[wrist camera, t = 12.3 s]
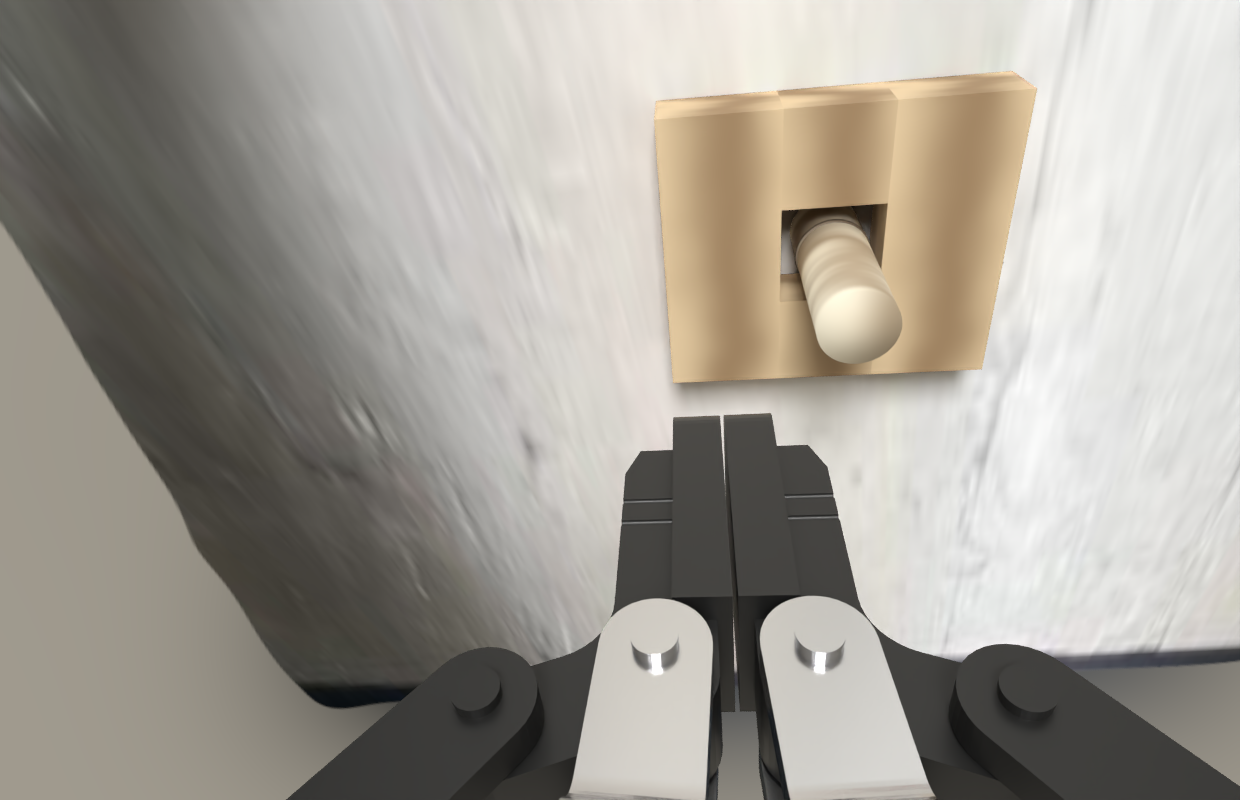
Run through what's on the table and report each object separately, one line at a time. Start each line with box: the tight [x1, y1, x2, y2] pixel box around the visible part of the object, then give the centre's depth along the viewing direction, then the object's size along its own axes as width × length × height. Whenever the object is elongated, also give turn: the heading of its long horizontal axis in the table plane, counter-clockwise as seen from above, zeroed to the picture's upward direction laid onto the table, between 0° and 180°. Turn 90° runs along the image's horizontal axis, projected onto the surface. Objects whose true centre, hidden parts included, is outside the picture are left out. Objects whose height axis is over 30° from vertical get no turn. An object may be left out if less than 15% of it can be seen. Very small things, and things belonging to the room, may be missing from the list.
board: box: [654, 71, 1037, 383], centre depth 39 cm, size 16×14×3 cm
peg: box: [790, 206, 902, 364], centre depth 36 cm, size 4×4×10 cm
